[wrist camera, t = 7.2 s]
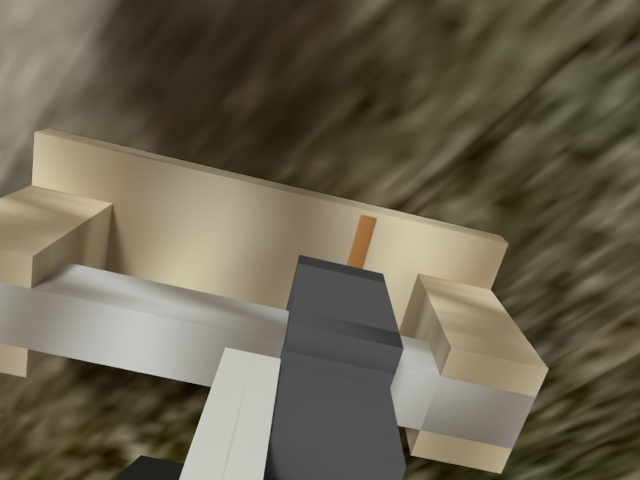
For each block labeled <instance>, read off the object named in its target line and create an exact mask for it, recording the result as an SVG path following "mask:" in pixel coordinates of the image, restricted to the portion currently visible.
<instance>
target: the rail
mask: <svg viewBox="0 0 640 480" xmlns="http://www.w3.org/2000/svg"><path fill="white" fill-rule="evenodd" d="M507 246H508V243H507V242H506V241H505V240H504V239H503V238H502V237H501V236H500V235H496V234H492V233H488V232H483V231H479V230H475V229H471V228H466V227H462V226H458V225H454V224H450V223H445V222H441V221H437V220H433V219H428V218H424V217H420V216H416V215H412V214H407V213H403V212H399V211H395V210H390V209H386V208H382V207H378V206H374V205H369V204H365V203H361V202H357V201H352V200H348V199H344V198H340V197H336V196H331V195H327V194H323V193H319V192H314V191H310V190H306V189H302V188H298V187H293V186H289V185H285V184H281V183H276V182H272V181H268V180H264V179H260V178H255V177H251V176H247V175H243V174H238V173H234V172H230V171H226V170H221V169H217V168H213V167H209V166H205V165H200V164H196V163H192V162H188V161H183V160H179V159H175V158H171V157H167V156H162V155H158V154H154V153H150V152H145V151H141V150H137V149H133V148H129V147H124V146H120V145H116V144H112V143H107V142H103V141H99V140H95V139H91V138H86V137H82V136H78V135H74V134H69V133H65V132H61V131H57V130H53V129H45V130H41V131H37V132H35V135H34V154H33V174H32V185H31V186H28V187H26V188H24V189H21V190H19V191H16V192H14V193H12V194H9V195H7V196H4V197H2V198H0V372H2V373H7V374H12V375H17V376H22V377H27V376H28V375H29V374H30V373H31V372H32V371H33V370H34V368H35V367H36V366H37V365H38V364H39V363H40V362H41V361H42V360H43V359H44V358H45V357H46V356H47V355H48V354H54V355H59V356H64V357H68V358H73V359H78V360H83V361H88V362H93V363H97V364H102V365H107V366H112V367H117V368H122V369H127V370H131V371H136V372H141V373H146V374H151V375H156V376H160V377H165V378H170V379H175V380H180V381H185V382H190V383H194V384H199V385H204V386H209V387H212V384H213V381H214V378H215V375H216V373H217V370H218V367H219V364H220V361H221V358H222V355H223V353H224V350H225V347H227V348H232V349H236V350H241V351H246V352H250V353H255V354H260V355H265V356H269V357H274V358H279V359H280V356H281V352H282V348H283V344H284V340H285V336H286V329H287V322H288V315H289V311H287V310H286V307H287V303H288V299H289V295H290V291H291V287H292V283H293V278H294V274H295V270H296V266H297V262H298V258H299V255H303V256H308V257H312V258H317V259H321V260H325V261H330V262H334V263H339V264H343V265H347V266H352V267H356V268H361V269H365V270H369V271H374V272H378V273H383V275H384V279H385V282H386V286H387V290H388V293H389V297H390V300H391V304H392V308H393V311H394V315H395V319H396V322H397V326H398V329H399V333H400V337H401V340H402V344H403V348H404V349H403V352H402V355H401V358H400V361H399V364H398V367H397V370H396V373H395V376H394V379H393V382H392V385H391V388H390V390H391V395H392V400H393V405H394V410H395V415H396V420H397V425H398V426H403V427H405V431H406V435H407V440H408V444H409V449H410V454H411V455H412V456H417V457H422V458H427V459H432V460H437V461H442V462H447V463H452V464H456V465H461V466H466V467H471V468H476V469H481V470H486V471H491V472H496V473H501V472H502V470H503V468H504V466H505V463H506V461H507V459H508V457H509V455H510V453H511V450H512V448H513V446H514V444H515V442H516V439H517V437H518V435H519V433H520V431H521V428H522V426H523V424H524V422H525V420H526V417H527V415H528V413H529V411H530V409H531V407H532V404H533V402H534V400H535V398H536V396H537V393H538V391H539V389H540V387H541V385H542V382H543V380H544V378H545V376H546V374H547V371H548V368H547V366H546V365H545V364H544V362H543V361H542V360H541V358H540V357H539V355H538V354H537V353H536V351H535V350H534V349H533V347H532V346H531V345H530V343H529V342H528V340H527V339H526V338H525V336H524V335H523V334H522V332H521V331H520V329H519V328H518V327H517V325H516V324H515V323H514V321H513V320H512V319H511V317H510V316H509V314H508V313H507V312H506V310H505V309H504V308H503V306H502V305H501V303H500V302H499V301H498V299H497V298H496V297H495V295H494V294H493V292H492V291H491V288H492V285H493V282H494V280H495V277H496V275H497V272H498V269H499V267H500V264H501V262H502V259H503V257H504V254H505V251H506V249H507Z"/></svg>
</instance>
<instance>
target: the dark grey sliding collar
mask: <svg viewBox="0 0 640 480" xmlns="http://www.w3.org/2000/svg"><path fill="white" fill-rule="evenodd" d="M286 310H287V311H289V315H288V322H287V329H286V336H285V340H284V344H283V348H282V352H281V356H280V359H281V362H280V369H279V375H278V382H277V389H276V396H275V403H274V409H273V416H272V423H271V430H270V436H269V443H268V450H267V457H266V463H265V470H264V477H263V478H268V479H273V480H402V478H403V476H404V473H405V470H406V464H405V459H404V454H403V449H402V445H401V440H400V435H399V430H398V425H397V420H396V415H395V410H394V405H393V400H392V395H391V390H390V388H391V385H392V382H393V379H394V376H395V373H396V370H397V367H398V364H399V361H400V358H401V355H402V352H403V349H404V348H403V344H402V340H401V337H400V333H399V329H398V326H397V322H396V319H395V315H394V311H393V308H392V304H391V300H390V297H389V293H388V290H387V286H386V282H385V279H384V275H383V273H378V272H374V271H369V270H365V269H361V268H356V267H352V266H347V265H343V264H339V263H334V262H330V261H325V260H321V259H317V258H312V257H308V256H303V255H299V258H298V262H297V266H296V270H295V274H294V278H293V283H292V287H291V291H290V295H289V299H288V303H287V307H286Z"/></svg>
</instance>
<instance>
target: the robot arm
mask: <svg viewBox="0 0 640 480" xmlns="http://www.w3.org/2000/svg"><path fill="white" fill-rule="evenodd" d="M280 362H281V359H279V358H274V357H269V356H265V355H260V354H255V353H250V352H246V351H241V350H236V349H232V348H227V347H225V350H224V353H223V355H222V358H221V361H220V364H219V367H218V370H217V373H216V375H215V378H214V381H213V384H212V387H211V390H210V393H209V395H208V398H207V401H206V404H205V407H204V410H203V413H202V415H201V418H200V421H199V424H198V427H197V430H196V433H195V435H194V438H193V441H192V444H191V447H190V450H189V453H188V456H187V458H186V461H185V464H183V463H177V462H172V461H167V460H162V459H157V458H152V457H147V456H140V457H139V458H137V459H136V460H135V461H134V462H133V463H132V464H131V465H130V466H128V467H127V468H126V469H125V470H124V471H123V472H122V473H121V475H120V477H119V479H118V480H273V479H268V478H263V477H264V470H265V463H266V457H267V450H268V443H269V436H270V430H271V423H272V416H273V409H274V403H275V396H276V389H277V382H278V375H279V369H280Z"/></svg>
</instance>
